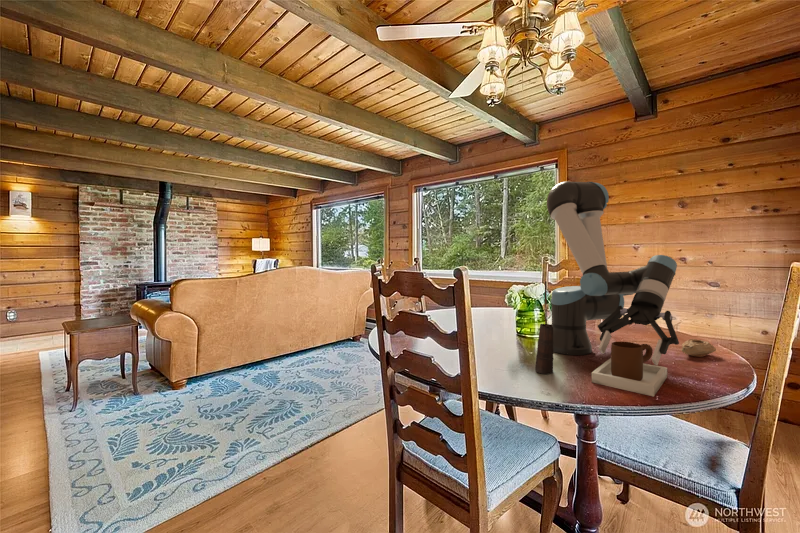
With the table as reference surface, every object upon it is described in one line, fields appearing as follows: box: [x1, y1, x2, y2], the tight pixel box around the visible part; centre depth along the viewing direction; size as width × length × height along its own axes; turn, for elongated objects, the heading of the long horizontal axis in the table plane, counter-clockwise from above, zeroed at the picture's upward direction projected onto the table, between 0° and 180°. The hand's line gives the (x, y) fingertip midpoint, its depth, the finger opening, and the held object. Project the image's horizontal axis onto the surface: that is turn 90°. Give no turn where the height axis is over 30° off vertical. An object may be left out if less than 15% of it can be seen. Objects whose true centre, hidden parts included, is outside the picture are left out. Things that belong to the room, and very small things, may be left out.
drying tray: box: [591, 357, 668, 397], centre depth 99 cm, size 14×18×3 cm
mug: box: [610, 341, 654, 381], centre depth 99 cm, size 12×8×9 cm, turn 100°
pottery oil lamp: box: [680, 338, 717, 358], centre depth 120 cm, size 9×12×7 cm
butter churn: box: [534, 280, 554, 375], centre depth 106 cm, size 9×10×28 cm
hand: (626, 356), depth 98 cm, fingers open, 13 cm apart
